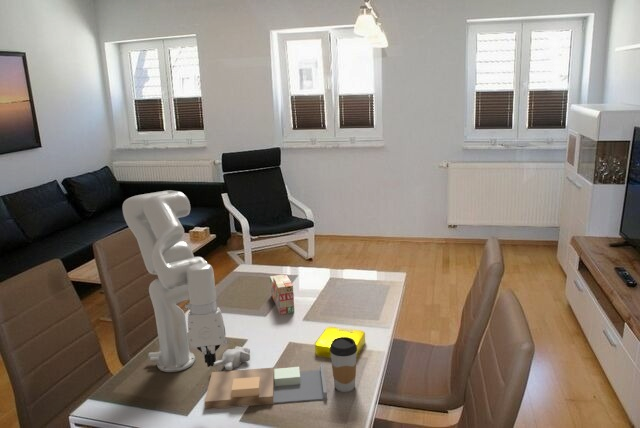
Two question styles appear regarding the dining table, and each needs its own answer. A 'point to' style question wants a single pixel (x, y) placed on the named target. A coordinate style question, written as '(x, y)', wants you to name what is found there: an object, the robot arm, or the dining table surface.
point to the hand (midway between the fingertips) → (210, 364)
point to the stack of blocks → (282, 293)
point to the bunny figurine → (234, 357)
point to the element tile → (332, 333)
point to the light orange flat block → (246, 387)
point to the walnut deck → (222, 388)
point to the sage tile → (287, 376)
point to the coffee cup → (343, 363)
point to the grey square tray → (303, 388)
